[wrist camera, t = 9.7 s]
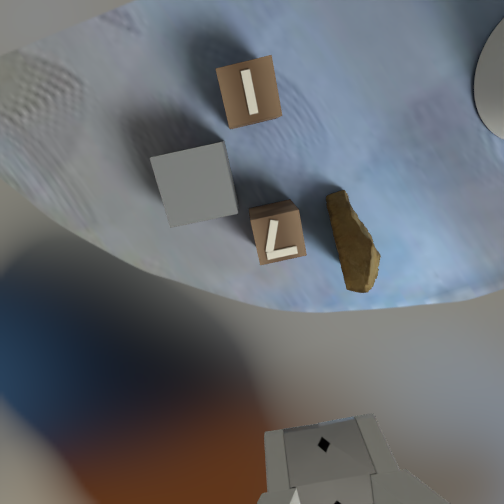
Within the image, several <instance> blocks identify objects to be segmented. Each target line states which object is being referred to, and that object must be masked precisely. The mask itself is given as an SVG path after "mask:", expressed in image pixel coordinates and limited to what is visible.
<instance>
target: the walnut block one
mask: <svg viewBox="0 0 504 504" xmlns="http://www.w3.org/2000/svg"><path fill="white" fill-rule="evenodd" d="M216 73H217V77H218V81H219V86H220V90H221V94H222V99H223V103H224V107H225V112H226V116H227V120H228V125H229V128H230V129H234V128H238V127H243V126H247V125H251V124H255V123H259V122H264V121H268V120H272V119H276V118H278V117H280V116H282V111H281V106H280V100H279V95H278V89H277V83H276V78H275V72H274V66H273V61H272V55H269V56H265V57H261V58H257V59H253V60H249V61H245V62H241V63H236V64H232V65H228V66H224V67H220V68H216Z"/></svg>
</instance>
